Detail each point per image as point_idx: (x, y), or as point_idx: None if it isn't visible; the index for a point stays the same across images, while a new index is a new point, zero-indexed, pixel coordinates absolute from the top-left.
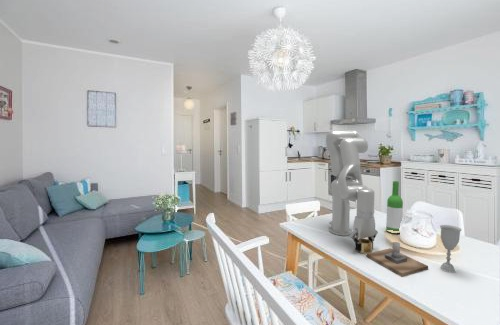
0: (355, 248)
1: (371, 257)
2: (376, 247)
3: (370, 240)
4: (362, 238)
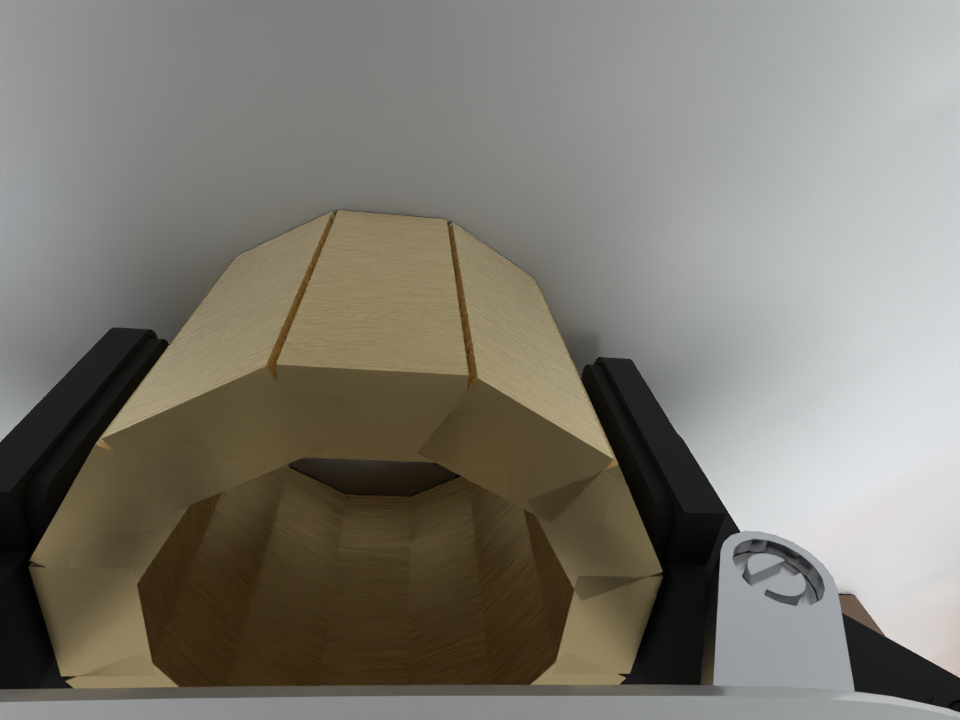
0: (108, 349)
1: None
2: (830, 391)
3: (626, 662)
4: (526, 440)
